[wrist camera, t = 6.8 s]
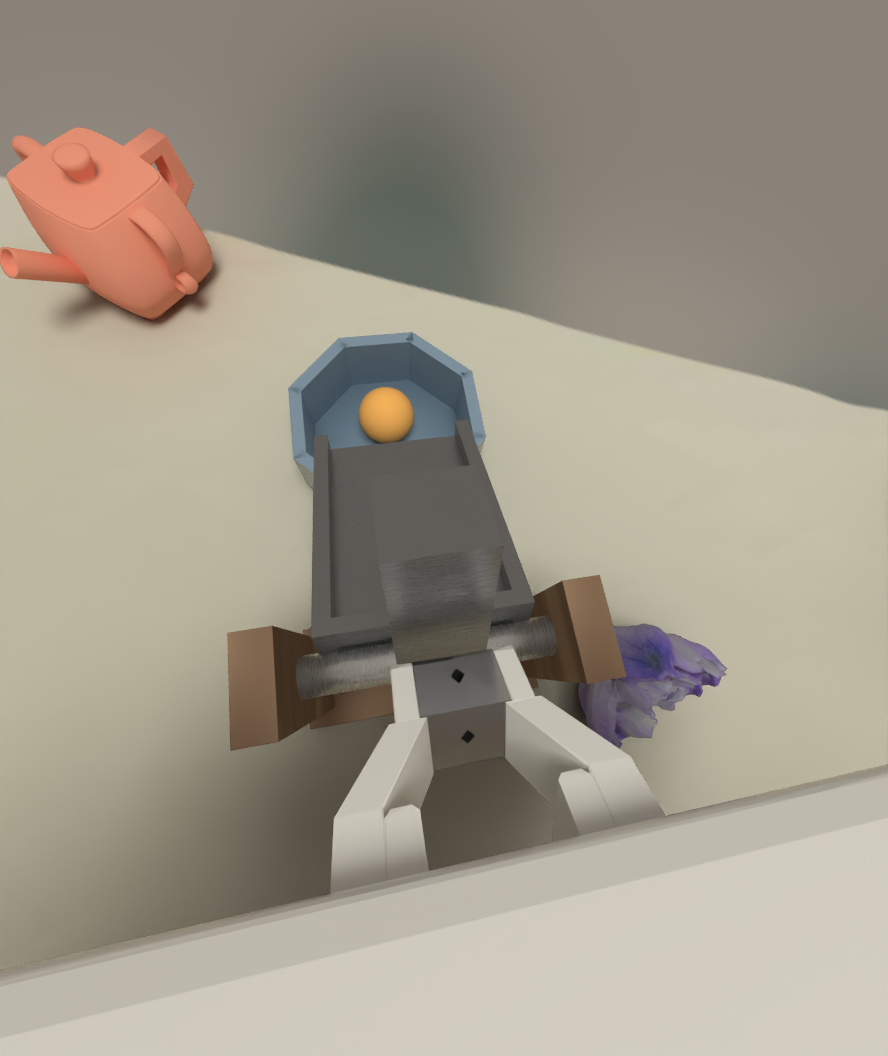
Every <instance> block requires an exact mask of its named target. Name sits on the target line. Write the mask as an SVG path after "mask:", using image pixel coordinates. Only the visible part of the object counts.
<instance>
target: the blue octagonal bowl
mask: <svg viewBox="0 0 888 1056" xmlns="http://www.w3.org/2000/svg"><path fill="white" fill-rule="evenodd" d="M380 387H390V388H394V389H397V390H399V391H400V392H402V393H403V394H404V395H405V396H406V397H407V398H408V399H409V401H410V403H411V405H412V407H413V411H414V421H413V425H412V428H411V430H410V431H409V433H408V434H407V435H406V436H405V437H404V438H403V439H401V440H399V441H397V442H401V441H411V440H420V439H429V438H438V437H447V436H455V421H460V420H468V423H469V425H470V428H471V431H472V433H473V436H474V439H475V441H476V444H477V447H478V450H479V452H480V453H481V450H482V447H483V444H484V441H485V438H486V435H485V431H484V426H483V421H482V417H481V412H480V407H479V403H478V398H477V393H476V388H475V384H474V379H473V374H472V371H471V370H469V369H468V368H466V367H465V366H463V365H462V364H460V363H458V362H457V361H455V360H454V359H452V358H451V357H449V356H448V355H446V354H445V353H443V352H442V351H440V350H439V349H437V348H436V347H434V346H433V345H431V344H430V343H428V342H426V341H425V340H423V339H422V338H420V337H419V336H417V335H416V334H414V333H413V332H409V333H397V334H384V335H372V336H359V337H346V338H338V339H337V340H336V341H335V342H334V343H333V344H332V345H331V346H330V347H329V348H328V349H327V350H326V351H325V352H324V353H323V354H322V355H321V356H320V357H319V358H318V359H317V360H316V361H315V362H314V363H313V364H312V365H311V366H310V367H309V368H308V369H307V370H306V371H305V372H304V373H303V374H302V375H301V376H300V377H299V378H298V379H297V380H296V381H295V382H294V383H293V384H292V385H291V386H290V387H289V388H288V391H289V404H290V417H291V431H292V444H293V457H294V460H295V462H296V464H297V465H298V467H299V469H300V471H301V473H302V475H303V476H304V478H305V480H306V482H307V484H308V485H309V486H310V487H312V488H313V483H314V436H318V435H328V439H329V443H330V447H331V449H338V448H347V447H356V446H365V445H374V444H383V443H380V442H377V441H375V440H373V439H371V438H370V437H369V436H368V435H367V434H366V433H365V432H364V430H363V429H362V427H361V424H360V421H359V408H360V404H361V402H362V400H363V399H364V397H365V396H366V395H367V394H368V393H369V392H371V391H372V390H374V389H377V388H380Z"/></svg>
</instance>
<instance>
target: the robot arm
mask: <svg viewBox="0 0 888 1056" xmlns="http://www.w3.org/2000/svg"><path fill="white" fill-rule="evenodd" d="M412 667H413V668H412ZM390 672H391V684H392V695H393V707H394V718H395V723H393V724H389V725H388V726H387V728H386V730H385V732H384V733H383V735H382V737H381V738H380V740H379V742H378V744H377V745H376V747H375V749H374V750H373V752H372V754H371V756H370V757H369V759H368V761H367V762H366V764H365V766H364V768H363V769H362V771H361V773H360V775H359V776H358V778H357V780H356V781H355V783H354V785H353V787H352V788H351V790H350V792H349V793H348V795H347V797H346V799H345V800H344V802H343V804H342V805H341V807H340V809H339V811H338V812H337V814H336V816H335V818H334V825H333V845H332V865H331V886H330V894H327V895H322V896H318V897H314V898H309V899H305V900H301V901H296V902H292V903H288V904H283V905H279V906H275V907H271V908H266V909H262V910H258V911H253V912H249V913H245V914H240V915H236V916H232V917H227V918H223V919H219V920H214V921H210V922H206V923H201V924H197V925H193V926H189V927H184V928H180V929H176V930H171V931H167V932H163V933H158V934H154V935H150V936H145V937H141V938H137V939H132V940H128V941H124V942H120V943H115V944H111V945H107V946H102V947H98V948H94V949H89V950H85V951H81V952H76V953H72V954H68V955H63V956H59V957H55V958H50V959H46V960H42V961H38V962H33V963H29V964H25V965H20V966H16V967H12V968H7V969H3V970H0V1056H888V764H887V765H883V766H878V767H874V768H870V769H865V770H861V771H857V772H853V773H848V774H844V775H840V776H835V777H831V778H827V779H823V780H818V781H814V782H810V783H805V784H801V785H797V786H793V787H788V788H784V789H780V790H775V791H771V792H767V793H762V794H758V795H754V796H750V797H745V798H741V799H737V800H732V801H728V802H724V803H719V804H715V805H711V806H706V807H702V808H698V809H693V810H689V811H685V812H680V813H676V814H672V815H668V816H665V814H664V812H663V811H662V809H661V807H660V806H659V804H658V802H657V800H656V799H655V797H654V795H653V794H652V792H651V790H650V789H649V787H648V785H647V784H646V782H645V780H644V778H643V777H642V775H641V773H640V772H639V770H638V768H637V767H636V765H635V763H634V761H633V760H632V758H631V757H630V756H629V755H628V754H626V753H625V752H623V751H622V750H620V749H619V748H617V747H616V746H614V745H613V744H611V743H610V742H609V741H607V740H606V739H604V738H603V737H601V736H600V735H598V734H597V733H595V732H594V731H592V730H591V729H590V728H588V727H587V726H585V725H584V724H582V723H581V722H579V721H578V720H576V719H575V718H573V717H572V716H571V715H569V714H568V713H566V712H565V711H563V710H562V709H560V708H559V707H557V706H556V705H555V704H553V703H552V702H550V701H549V700H547V699H546V698H544V697H543V696H536V697H535V694H534V692H533V690H532V688H531V686H530V683H529V681H528V679H527V677H526V674H525V672H524V670H523V668H522V665H521V663H520V661H519V659H518V657H517V654H516V652H515V650H514V648H513V647H512V646H511V645H508V646H503V647H497V648H492V649H487V650H481V651H476V652H470V653H465V654H459V655H454V656H450V657H443V658H436V659H430V660H423V661H416V662H412V663H406V664H399V665H392V666H391V670H390ZM499 757H505V759H506V760H507V761H508V762H509V763H510V764H511V765H512V766H513V767H514V768H515V769H516V770H517V771H518V772H519V773H520V774H521V775H522V776H523V777H524V778H525V779H526V780H527V781H528V782H529V783H530V784H531V785H532V786H533V787H534V788H535V789H536V790H537V791H538V792H539V793H540V794H541V795H542V796H543V797H544V798H545V799H546V800H547V801H548V802H549V803H550V804H551V805H552V806H553V807H554V808H555V815H554V825H553V834H552V842H551V843H547V844H542V845H538V846H534V847H529V848H525V849H521V850H516V851H512V852H508V853H503V854H499V855H495V856H490V857H486V858H482V859H477V860H473V861H469V862H464V863H460V864H456V865H451V866H447V867H443V868H439V869H434V870H430V871H429V867H428V860H427V853H426V847H425V840H424V833H423V826H422V819H421V813H420V809H421V807H422V804H423V801H424V799H425V796H426V793H427V791H428V788H429V785H430V782H431V780H432V777H433V774H434V771H436V770H440V769H444V768H449V767H453V766H457V765H461V764H466V763H470V762H476V761H482V760H487V759H493V758H499Z"/></svg>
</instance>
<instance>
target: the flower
mask: <svg viewBox="0 0 888 1056" xmlns="http://www.w3.org/2000/svg"><path fill="white" fill-rule="evenodd" d="M614 631H615V635H616V639H617V642H618V646H619V650H620V654H621V657H622V661H623V665H624V669H625V672H626V676H627V677H622V678H616V679H611V680H606V681H600V682H595V683H590V684H583V683H580V684H579V687H578V694H579V699H580V703H581V706H582V708H583V711H584V713H585V714H586V722H587V727H588V728H590V729H591V730H592V731H594V732H595V733H597V734H598V735H600V736H601V737H603V738H604V739H606V740H607V741H609V742H610V743H611V744H613V745H614V746H616V747H617V748H619V749H620V747H621V746H622V743H620V741H621V740H622V739H624V738H627V737H631V736H632V737H636V738H652V732H653V726H654V725H655V724H657V720H656V719H655V713H654V712H653V710H652V706H654V705H657V706H659V707H660V708H662V709H665V710H670V711H673V710H675V703H676V702H679V701H682V700H683V699H684V697H685V696H686V695H689V694H692V695H696V696H698V697H700V696H701V694H702V692H703V690H702V685H711V686H714V687H715V686H718V685H719V682H720V680H721V677H722V676H725V675H727V674H726V673H724V672H723V671H725V670H726V669H727V668H726V667H725V666H724V665H723V664H722V663H721V662H720V661H719V660H718V659H717V658H716V656H715V655H714V654H713V653H712V652H711V651H710V650H709V649H707V648H706V647H704V646H702V645H700V644H698V643H694V642H691V641H689V640H687V639H684V638H682V637H681V636H678V635H675V634H666V633H664V632H663V631H662V630H661V629H660V628H659V627H656V626H652V625H648V624H640V625H637V626H626V627H614Z"/></svg>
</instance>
